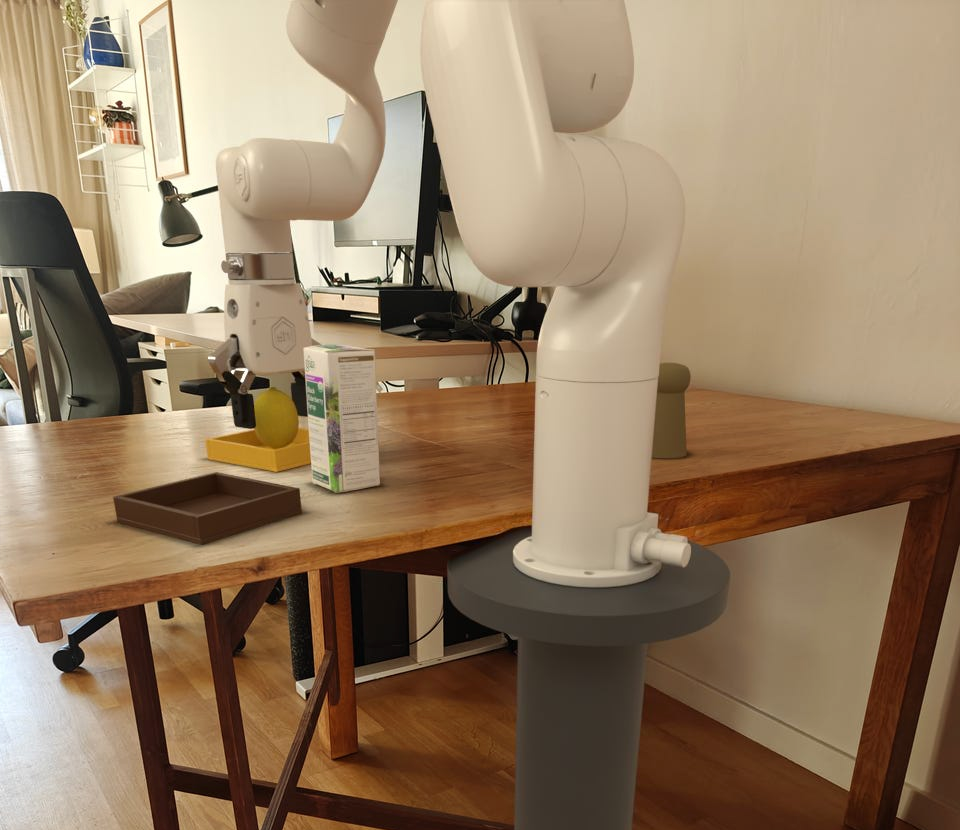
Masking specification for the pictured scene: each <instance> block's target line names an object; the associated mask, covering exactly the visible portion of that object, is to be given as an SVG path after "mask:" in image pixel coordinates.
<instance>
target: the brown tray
mask: <svg viewBox="0 0 960 830" xmlns="http://www.w3.org/2000/svg"><path fill="white" fill-rule="evenodd" d="M300 489H301V488H300V487H295V486H289V485H285V484H280V483H276V482H275V483H274V482H270V481H265V480H260V479H254V478H249V477H245V476H239V475H235V474H234V475H233V474H228V473H223V472H220V471H219V472H218V471H214V472H209V473H205V474H202V475H197V476H192V477H189V478H185V479H181V480H176V481H173V482H168V483H164V484H160V485H156V486H151V487H147V488H143V489H139V490H135V491H130V492H127V493H123V494H119V495H113V496H112V499H113V500H112V501H113V506H114V510H115V516H116V521H117V523H119V524H123V525H127V526H131V527H134V528H137V529H141V530H145V531H149V532H153V533H156V534H160V535H163V536H164V535H165V536H168V537H171V538H176V539H180V540H182V541H187V542H191V543H195V544H199V545H205V544H208V543H211V542H214V541H218V540H220V539H223V538H227V537H230V536H233V535H236V534H240V533H243V532H246V531H249V530H252V529H255V528H259V527H262V526H265V525H269V524H271V523H275V522H278V521H281V520H284V519H288V518H291V517H294V516H296V515H300V514H302V511H303V510H302V499H301V490H300Z"/></svg>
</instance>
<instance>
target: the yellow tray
mask: <svg viewBox="0 0 960 830" xmlns="http://www.w3.org/2000/svg"><path fill="white" fill-rule="evenodd" d="M204 440H205V448H206V455H207V460H210V461H215V462H220V463H226V464H232V465H237V466H241V467H247V468H253V469H257V470H263V471H269V472H275V473H278V472H282V471H287V470H290V469H294V468H299V467H302V466H306V465H310V464H311V453H310V439H309V428H307V427H300V426H299V427H298V432H297V435H296V437H295V439H294V441H293V442H292V443H291V444H289V445H288V446H286V447H283V448H279V449H272V448H271V447H269V446H266V445H265V444H263V443H262V442H261V441H260V440H259V438H258V437H257V435H256V433H255V431H254V428H253V429H249V430H248V429H247V430H243V431H239V432H233V433H229V434H223V435H219V436H213V437H209V438H205V439H204Z"/></svg>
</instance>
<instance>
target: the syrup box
mask: <svg viewBox="0 0 960 830" xmlns="http://www.w3.org/2000/svg"><path fill="white" fill-rule="evenodd" d="M304 364H305V379H306V394H307V409H308V417H307V423H308V424H307V425H308V429H309V439H310V453H311V463H310V464H311V467H310V468H311V478H312V479H311V480H312V484H313V485H318V486H320V487H322V488H324V489H327V490H329V491H332V492H333V493H335V494H340V493H344V492H345V493H346V492H350V491H357V490H363V489H367V488H371V487H377V486H380V485H381V473H380V472H381V470H380V449H379V448H380V447H379V420H378V419H379V418H378V397H377V395H378V393H377V373H376V372H377V371H376V369H377V368H376V350H375V349H374V348H366V347H365V348H364V347H358V346H351V345H346V344H322V345H316V346H310V347H306V348H304Z"/></svg>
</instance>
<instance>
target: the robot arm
mask: <svg viewBox="0 0 960 830" xmlns="http://www.w3.org/2000/svg"><path fill="white" fill-rule="evenodd" d="M398 1H399V0H291V2H290V6H289V9H288V12H287V15H286V23H285V28H286V33H287V37H288V40H289V42H290V44H291V46H292V47H293V49H294V50H295V51H296V53H297V54H298V55H299V56H300V57H301V58H302V60H303V61H304V62H305V63H306V64H308V65H309V66H310V67H311V68H312V69H314V71H316V72H317V73H318V74H320V75H321V76H322V77H324V78H325V79H326V80H328V81H329V82H331V83H332V84H334V85H335V86H336V87H338V88H339V89H340V90H342V91H343V92H344V93H345V105H344V106H345V107H344V110H343V111H344V113H343V116H342V117H341V118H342V119H341V121H340V125H339V128H338V130H337V133H336V136H335V138H334V140H333V142H332V143H331V142H322V141H310V140H301V139H282V138H272V137H255V138H251V139H248V140H246V141H245V142H243V143H242V144H241V145H240V146H233V147H226V148H224V149H221V150H220V151H218V153H217V155H216V159H215V172H216V182H217V190H218V191H217V192H218V199H219V200H218V201H219V209H220V216H221V217H220V218H221V226H222V235H223V244H224V252H225V259H224V260H222V261H221V264H220V268H221V270H222V272H223V273H224V274H227V279H228V284H225V289H224V301H223V302H224V304H223V306H224V308H223V323H224V326H223V327H224V342H223V343H222V344H221V345H220V346H218V348H216V349H215V350H214V351H213V352H212V353H210V354H209V355H208V357H207V362H208V365H209V366H210V367H211V368H210V369H212V371H213V373H214V374H215V378H216V380H217V381H218V382H219V384H221V385H222V386H223V387H224V391H225V392H226V393H227V394H229V395H230V402H231V410H232V417H233V425H234V426H235V427H236V428H240V429H247V430H248V429H249V430H253V429H254V428H255V427H256V418H255V409H254V403H255V401H254V396H253V393H249V391H250V389H251V386H252V384H253V382H254V380H255V378H256V376H259V377H266V376H267V377H268V376H276V375H283V374H289V375H290V377H291V378H292V380H293V381H294V382H290V393H291V399H292V401H293V402H294V404H295V407H296V410H297V414H298V417H304V418H305V417H306V418H308V409H307V394H306V379H305V364H304V348H306V347H310V346H316V345H323V344H322V343H320V342H318V341H317V340H316V339H313V338H312V332H311V326H310V325H311V324H310V319H309V313H308V309H307V305H306V304H307V303H306V300H305V296H304V292H303V289H302V286H301V283H300V282H296V280H295V278H296V277H295V275H296V274H295V263H294V254H293V252H294V251H293V242H292V229H291V221H319V222H320V221H323V222H324V221H325V222H340V221H345V220H347V219H350V218H351V217H354V216H355V214H357V212H358V211H359V210H360V209H361V208H362V206H363V205H364V203H365V202H366V199H367V197H368V196H369V193H370V191H371V190H372V187H373V184H374V182H375V179H376V177H377V174H378V172H379V170H380V168H381V164H382V161H383V158H384V154H385V149H386V137H387V133H386V132H387V130H386V129H387V128H386V127H387V124H386V123H387V122H386V110H385V104H384V98H383V94H382V91H381V87H380V85H379V81H378V78H377V76H376V72H375V71H376V70H375V68H376V67H375V66H376V63H377V62H376V61H377V59H378V56H379V54H380V51H381V48H382V46H383V43H384V40H385V38H386V34H387V32H388V29H389V27H390V24H391V21H392V18H393V15H394V13H395V10H396V7H397V4H398ZM422 16H423V17H422V23H421V33H420V42H419V43H420V45H419V46H420V48H419V51H420V53H419V54H420V70H421V76H422V77H421V78H422V83H423V88H424V94H425V98H426V103H427V107H428V112H429V115H430V120H431V124H432V128H433V132H434V135H435V136H434V137H435V140H436V145H437V148H438V154H439V157H440V160H441V165H442V169H443V174H444V177H445V178H444V179H445V182H446V187H447V190H448V194H449V199H450V202H451V206H452V207H451V208H452V210H453V214H454V218H455V223H456V227H457V229H458V233H459V236H460V238H461V242H462V244H463V246H464V249H465V251H466V253H467V256H468V257H469V259H470V260H471V262H472V263H473V265H474V266H475V267H476V269H477V270H478V271H479V272H480V273H481V274H482V275H483V276H484V277H486V278H487V279H489V280H490V281H492V282H494V283H496V284H499V285H502V286H505V287H511V288H545V287H546V288H548V287H549V288H550V287H555V289H554V292H553V295H552V298H551V300H550V302H549V304H548V307H547V309H546V312H545V314H544V317H543V321H542V323H541V327H540V331H539V334H538V340H537V345H536V346H537V347H536V357H535V358H536V359H535V360H536V361H535V362H536V363H535V390H534V391H535V392H534V393H535V394H534V396H535V397H534V435H533V437H534V438H533V440H534V441H533V468H532V469H533V475H532V511H531V512H532V515H531V516H532V517H531V525H532V536H531V537H528V538H526V539H524V540H522V541H520V542H519V543H518V544H517V545H516V546H515V547H514V550H513V563H514V565H515V567H516V568H517V569H518V570H520V571H521V572H522V573H524V574H526V575H527V576H529V577H532V578H534V579H537V580H540V581H544V582H547V583H552V584H557V585H562V586H570V587H582V588H609V587H620V586H626V585H632V584H636V583H639V582H643V581H645V580H648V579H650V578H652V577H653V576H655V575H656V574H657V573H658V572H659V571H660V569H661V566H662V563H663V564H667V565H672V566H678V567H683V568H684V567H686V565H687V564H688V562H689V559H690V555H691V546H690V544H688V543H687V540H688V537H687V536H685V535H679V534H673V533H670V534H669V533H666V534H665V532H662V530H661V529H660V528H658V524H659V513H655V512H648V507H649V495H650V494H649V493H650V483H651V481H650V480H651V469H652V446H653V434H654V422H655V410H656V397H657V385H658V376H659V366H660V363H661V355H662V344H663V334H664V324H665V318H666V311H667V306H668V300H669V294H670V290H671V285H672V280H673V276H674V273H675V269H676V266H677V261H678V259H679V254H680V249H681V246H682V242H683V236H684V230H685V223H686V221H685V220H686V202H685V196H684V190H683V187H682V184H681V181H680V179H679V176H678V175H677V172H676V171H675V169H674V168H673V167H672V165H671V164H670V162H669V161H667V160H666V159H665V157H663V156H662V155H661V154H660V153H659V152H657V151H656V150H654V149H652V148H650V147H648V146H647V145H644V144H641V143H638V142H636V141H631V140H628V139H622V138H615V137H607V136H600V135H591V134H583V133H587V132H592V131H595V130H597V129H600V128H603V127H605V126H607V125H608V124H609V123H611V122H612V121H613V120H614V119H616V118H617V117H618V116H619V114H621V112H622V111H623V109H624V108H625V106H626V104H627V102H628V100H629V98H630V96H631V95H630V94H631V92H632V88H633V84H634V77H635V55H634V47H633V40H632V33H631V27H630V22H629V17H628V12H627V8H626V3H625V0H426V3H425V7H424V12H423V15H422ZM577 133H578V134H577ZM581 133H582V134H581ZM229 369H230V370H231V371H230V370H229ZM661 532H662V533H661Z"/></svg>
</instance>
